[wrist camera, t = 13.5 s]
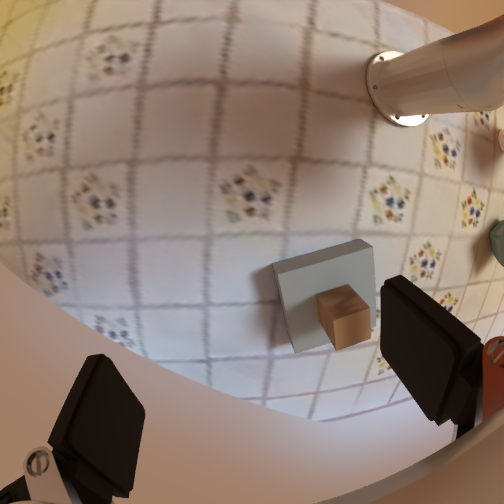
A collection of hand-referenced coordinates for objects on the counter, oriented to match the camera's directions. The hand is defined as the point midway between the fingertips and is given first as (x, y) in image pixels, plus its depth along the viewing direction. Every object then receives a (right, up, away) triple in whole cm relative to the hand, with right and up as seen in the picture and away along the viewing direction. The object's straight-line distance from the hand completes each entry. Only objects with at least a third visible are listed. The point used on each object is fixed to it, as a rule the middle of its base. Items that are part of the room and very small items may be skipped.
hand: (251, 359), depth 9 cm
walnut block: (+12, -4, +31) cm, 33 cm away
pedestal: (+11, -3, +35) cm, 36 cm away
